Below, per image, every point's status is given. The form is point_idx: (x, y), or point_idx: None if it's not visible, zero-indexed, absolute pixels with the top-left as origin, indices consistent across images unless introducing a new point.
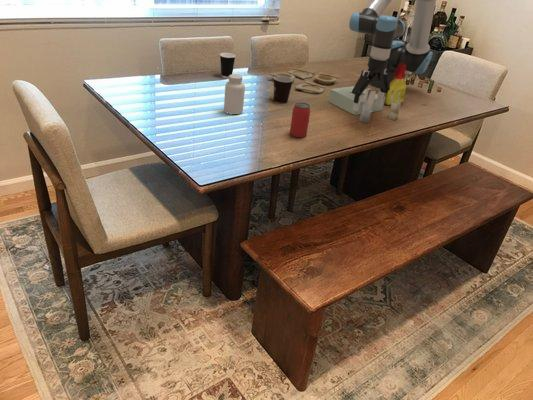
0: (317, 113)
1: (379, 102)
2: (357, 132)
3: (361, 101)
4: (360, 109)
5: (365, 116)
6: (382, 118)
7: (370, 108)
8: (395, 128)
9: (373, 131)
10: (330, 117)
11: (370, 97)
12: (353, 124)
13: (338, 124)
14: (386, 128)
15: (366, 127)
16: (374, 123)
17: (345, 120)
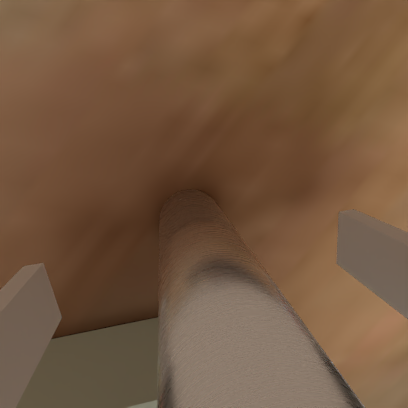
0: (372, 343)
1: (23, 316)
2: (363, 64)
3: (151, 400)
4: (144, 344)
5: (219, 208)
6: (6, 240)
7: (205, 227)
8: (3, 35)
9: (243, 42)
10: (348, 294)
11: (287, 311)
12: (295, 186)
13: (378, 203)
14: (94, 61)
15: (244, 122)
16: (136, 171)
17: (299, 247)
